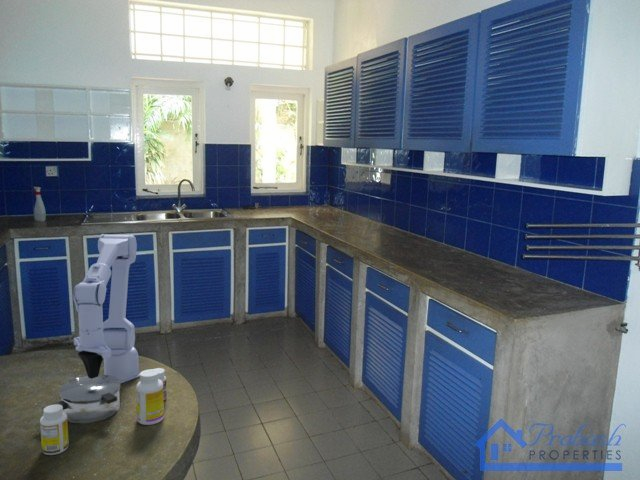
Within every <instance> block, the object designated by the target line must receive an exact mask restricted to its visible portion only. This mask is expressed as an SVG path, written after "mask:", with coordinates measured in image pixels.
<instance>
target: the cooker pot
mask: <svg viewBox="0 0 640 480" xmlns="http://www.w3.org/2000/svg"><path fill="white" fill-rule="evenodd" d="M114 396H116V397H117V401H115V402H112V403H110V404H107V403H106V402H104V401H102V400H100V401H96V402H91V403H71V402H67V401H65V400H63V399H62V398H61V400H59V401H57V402H54V403H51V404H49V405H46V406H43V407H41V409H42V413H43V410H44V408H45V407H47V406H50V405H55V404H59V405H62V406H63V412H65V413H66V414H67V422H68V423H73V424H91V423H95V422H100V421H104V420H106V419H108V418H110V417H112V416H114V415H115V414H116V413H117V412H118V411H119V410H120V407H121V403H120V402H121V400H120V397H121V396H120V390H119V391H118V392H117V393H116V394H114Z"/></svg>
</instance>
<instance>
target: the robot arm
mask: <svg viewBox="0 0 640 480" xmlns="http://www.w3.org/2000/svg"><path fill="white" fill-rule="evenodd" d="M137 246H138V244H137V239H136V236H135V235H134V234H106V233H102V234H101V235H100V236H99V237H98V239H97V250H98V252H99V253H98V254H99V255H98V258H97V261H96V263H93V264H91V265H90V267H89V269H88V270H87V273H86V274H85V276H84V278H83V280H82V282H79V283H78V284H76V285H75V286H74V289H73V297H72V298H73V302H74V305H75V311H76V312H77V313H78V315H77V316H78V317H77V318H78V330H79V331H78V333H79V334H78V335H79V336H77V337H74V338H73V345H74V346H75V351H77V352H78V353H77V355H78V357H79V358H80V359H81V361H82V363H83V365H84V368H85V372H86V374H87V375H86V376H88V377H89V378H91V379H92V378H95V377H98V375H100V369H101V366H102V363H103V369H104V371H103V372H104V373H103V375H110V376H114V377H116V378H118V379H119V380H120V385H121V384H123V383H126V382H128V381H131V380H134V379H136V378H140V365H139V364H140V362H139V359H140V358H139V353H138V350H137V349H136V347H135V345H136V344H135V343H136V334H135V333H136V332H135V328H136V327H135V325H134V324H133V322H131V321H130V320H128V319H127V318H126V315H127V314H126V313H127V301H128V300H127V299H128V285H129V275H130V274H129V272H130V266H131V264H134V263H135V262H136V258H137V248H138V247H137ZM111 267H112V269H111ZM110 279H111V280H110ZM109 281H111V282H110V295H109V308H108V319H106V320H104V318H103V317H104V315H103V311H104V310H103V304H104V302H105V300H106V293H107V285H108V282H109ZM113 328H114V329H113ZM116 328H117V329H116ZM118 328H119V329H118ZM121 328H122V329H121Z"/></svg>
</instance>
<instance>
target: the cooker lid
mask: <svg viewBox="0 0 640 480" xmlns="http://www.w3.org/2000/svg"><path fill="white" fill-rule="evenodd" d="M120 390H121V384H120V380H119V379H118V378H116V377H114V376H110V375H104V374H99V375H98V377H95V378H92V379H91V378H89V377H88V375H81V376H77V377H76V378H72V379H69V380H68V381H67V382H66V383H65V384H63V385H62V386H61V387H60V389H59V397H60V398H61V400H62V399H63V400H65V401H67V402H71V403H91V402H96V401H100V400H102V401H104V402H106V403H107V404H110V403H112V402H115V401H117V397H116V396H114V394H116V393H117V392H118V391H119V392H120Z"/></svg>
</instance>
